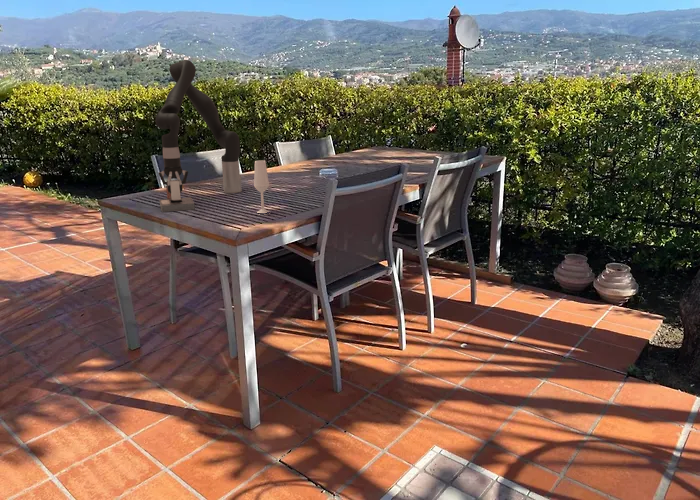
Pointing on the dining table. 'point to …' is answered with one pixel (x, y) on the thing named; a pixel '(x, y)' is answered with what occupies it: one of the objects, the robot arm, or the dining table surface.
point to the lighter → (168, 194)
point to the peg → (175, 190)
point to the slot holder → (177, 204)
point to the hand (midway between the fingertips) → (175, 192)
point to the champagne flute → (261, 181)
